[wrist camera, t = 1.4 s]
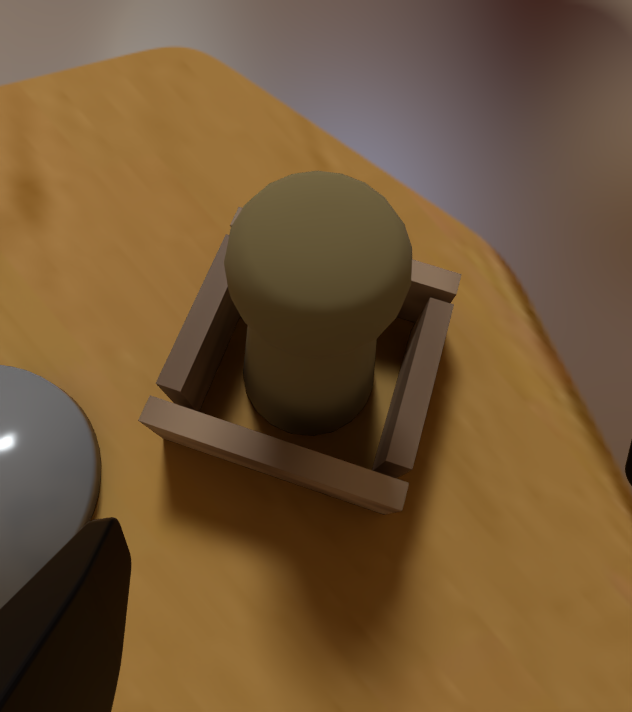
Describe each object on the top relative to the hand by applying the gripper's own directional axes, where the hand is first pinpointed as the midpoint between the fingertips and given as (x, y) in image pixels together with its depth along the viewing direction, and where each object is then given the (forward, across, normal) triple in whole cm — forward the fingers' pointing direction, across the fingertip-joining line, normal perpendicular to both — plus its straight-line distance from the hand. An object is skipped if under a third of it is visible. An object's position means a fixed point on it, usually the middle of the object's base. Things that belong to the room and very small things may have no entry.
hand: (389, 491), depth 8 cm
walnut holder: (+13, 0, +4) cm, 14 cm away
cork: (+14, 0, +4) cm, 14 cm away
